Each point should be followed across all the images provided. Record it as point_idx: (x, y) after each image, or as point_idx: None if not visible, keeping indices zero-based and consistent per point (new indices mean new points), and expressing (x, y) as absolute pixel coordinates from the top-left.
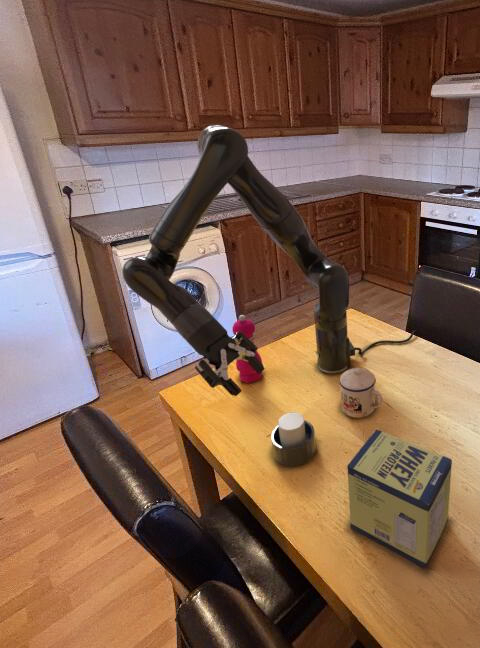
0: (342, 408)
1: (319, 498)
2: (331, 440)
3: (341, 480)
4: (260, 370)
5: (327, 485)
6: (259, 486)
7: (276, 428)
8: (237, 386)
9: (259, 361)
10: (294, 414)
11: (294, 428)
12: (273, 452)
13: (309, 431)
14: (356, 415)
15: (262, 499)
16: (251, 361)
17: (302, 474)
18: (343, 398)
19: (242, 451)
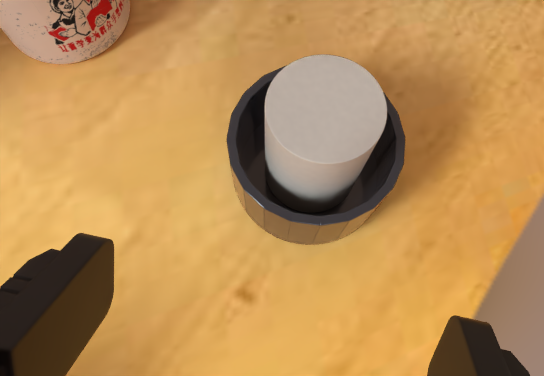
0: (90, 51)
1: (470, 54)
2: (244, 68)
3: (396, 13)
4: (104, 270)
5: (422, 44)
6: (480, 238)
7: (298, 214)
8: (480, 352)
9: (2, 291)
10: (280, 104)
11: (372, 78)
12: (341, 237)
13: (257, 110)
14: (128, 2)
15: (523, 210)
16: (28, 373)
17: (401, 120)
18: (81, 4)
19: (345, 372)
